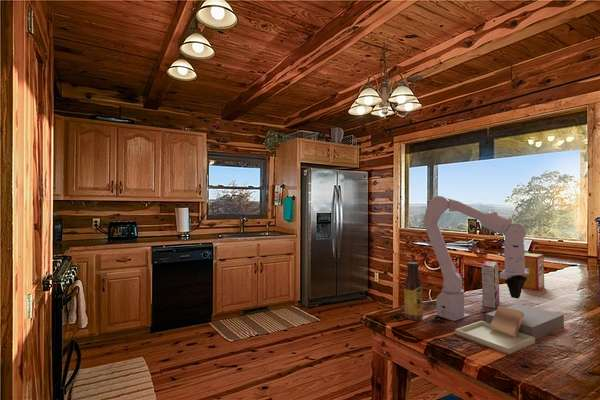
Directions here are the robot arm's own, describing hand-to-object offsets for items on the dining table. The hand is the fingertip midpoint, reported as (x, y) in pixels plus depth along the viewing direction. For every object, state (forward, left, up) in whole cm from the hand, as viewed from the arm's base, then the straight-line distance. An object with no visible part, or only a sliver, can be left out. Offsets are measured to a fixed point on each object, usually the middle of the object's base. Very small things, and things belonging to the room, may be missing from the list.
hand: (515, 297), depth 111 cm
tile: (-12, -4, -5) cm, 13 cm away
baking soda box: (+53, +19, -9) cm, 57 cm away
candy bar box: (+13, +16, -9) cm, 22 cm away
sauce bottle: (-25, +22, -9) cm, 34 cm away
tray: (-19, -3, -9) cm, 21 cm away
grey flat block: (-1, -3, -9) cm, 9 cm away
